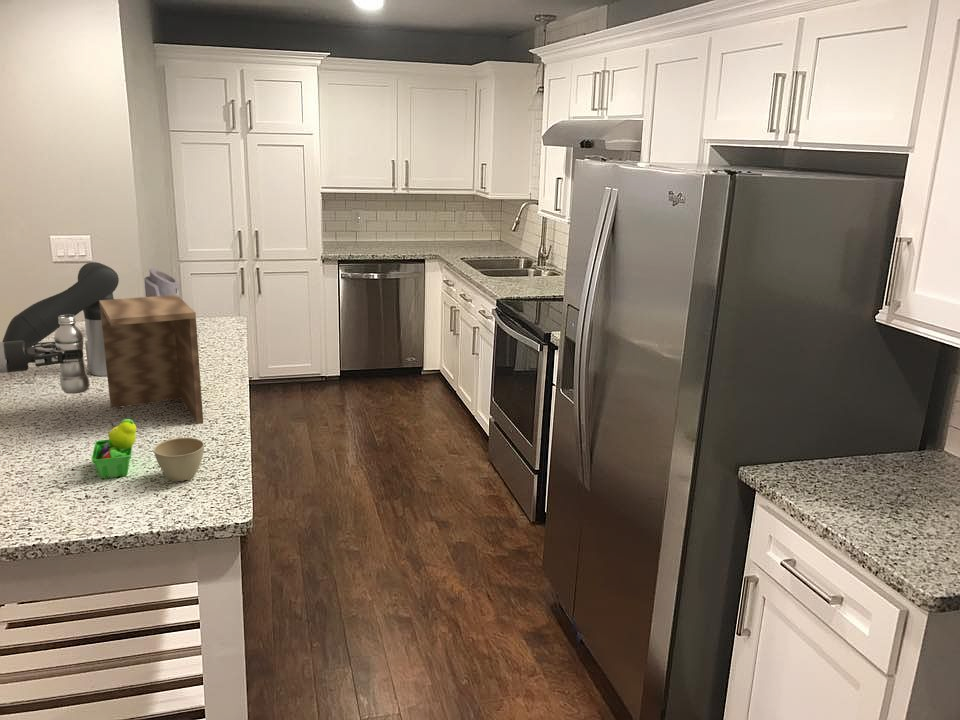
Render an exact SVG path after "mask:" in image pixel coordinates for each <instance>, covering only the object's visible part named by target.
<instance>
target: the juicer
mask: <svg viewBox="0 0 960 720" xmlns="http://www.w3.org/2000/svg"><path fill="white" fill-rule="evenodd" d="M143 279H144V281H143V282H144V291H145V297H155V296H169V295H178V296H179V297H180V298H181V295H180V294H181V293H180V286H181V285H180V283H179V281H178V280H177V279H176V278H174V277H173V276H171V275H170V274H168V273H166V272H164V271H162V270H159V269H156V268H150V269H149V276H145V277H144V278H143Z"/></svg>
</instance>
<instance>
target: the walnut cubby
mask: <svg viewBox="0 0 960 720" xmlns="http://www.w3.org/2000/svg"><path fill="white" fill-rule="evenodd" d="M99 304H100V313H101V322H102V332H103V341H104V350H105V360H106V369H107V376H106V378H107V387H108V388H107V389H108V396H109V404H110V405H109V406H110V409H115V408H114V407H117V408H122V407H121V406H124V407H130V406H129V405H132V406H137V404H139V405H146V404H152V403H153V404H154V403H161V402H167V401H168V402H169V401H175V400H181V402H182V404H183V405H184V406H185V408H186V409H187V411H188V412H189V414H190V415H191V417H192V418H193V420H194V421H195V422H196V424H197V425H199V424H204V414H203V399H202V398H203V396H202V385H201V372H200V371H201V370H200V357H199V343H198V342H199V341H198V329H197V328H198V326H197V316H196V311H195V310H193V308H191V306H190V305H188V304H187V303H186V302H185V301H184V300H183V299H182V298H181V296H180V297H179V296H178V295H169V296H155V297H146V296H142V297H130V298H127V297H126V298H116V299H115V298H114V299H112V300H99ZM145 403H146V404H145Z"/></svg>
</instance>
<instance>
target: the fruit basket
mask: <svg viewBox="0 0 960 720" xmlns="http://www.w3.org/2000/svg"><path fill="white" fill-rule="evenodd" d="M134 422H135V421H134V420H132V419H130V418H124V419H123V420H121V422H120V423H119V424H118V425H117V426H114V428H112V429H111V430H110V431H109V432H108V436H107V437H108V439H102V440H97V441H95V443H94V448H93V452H92V455H91V462H92V464H93V465H94V466H95V469H96V471H97V474H98V476H99V478H100V479H101V478H104V479H110V478H109V477H114V478H119V477H118V476H120V477H127V476H128V473H129V467H130V459H131V458H132V452H133V451H132V450H133V445H134V444H135V443H136V438H137V433H136V432H137V426H136V424H135V423H134ZM126 475H127V476H126ZM106 477H108V478H106Z"/></svg>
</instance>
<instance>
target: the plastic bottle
mask: <svg viewBox="0 0 960 720" xmlns="http://www.w3.org/2000/svg"><path fill="white" fill-rule="evenodd" d="M58 319H59V322H58V324H59V325H60V327H59V328H58V329H57V330H55V334H54V336H53V337H54V338H53V339H54V342H55V343H56V347H57V350H59V351H61V350H63V351H65V350H75V349H82V351H83V352H84V334H83V332H82V330H81V329H80V328H78V327H77V325H76V323H77V321H76V315H61V316H59V317H58ZM63 362H64V363H62V364H59V365H60V380H59V382H60V383H59V384H60V387H61V390H62V391H63V392H64V393H65V394H69V395H70V394H71V395H72V394H73V395H75V394H81V393H86V392H87V391H88V389H89V388H90V379H89V376H88V373H87V369H86V365H85V358H84V354H83V358H78V359H69V360H67V359H66V361H63Z"/></svg>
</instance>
